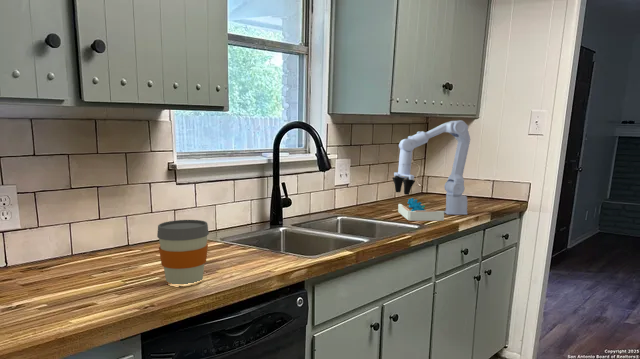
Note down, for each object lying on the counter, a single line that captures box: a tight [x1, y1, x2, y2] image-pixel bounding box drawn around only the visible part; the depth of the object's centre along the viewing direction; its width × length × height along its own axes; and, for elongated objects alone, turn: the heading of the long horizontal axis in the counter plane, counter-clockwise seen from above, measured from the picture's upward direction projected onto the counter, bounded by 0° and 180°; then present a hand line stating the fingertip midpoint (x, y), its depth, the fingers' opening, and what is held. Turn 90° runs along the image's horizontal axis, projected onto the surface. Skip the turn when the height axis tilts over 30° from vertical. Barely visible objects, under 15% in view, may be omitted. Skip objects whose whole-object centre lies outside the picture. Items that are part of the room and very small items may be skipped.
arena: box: [397, 203, 445, 222], centre depth 211 cm, size 16×22×4 cm
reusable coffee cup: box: [156, 219, 210, 284], centre depth 117 cm, size 13×12×15 cm
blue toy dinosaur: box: [407, 197, 427, 211], centre depth 216 cm, size 11×6×10 cm
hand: (402, 193), depth 214 cm, fingers open, 7 cm apart
